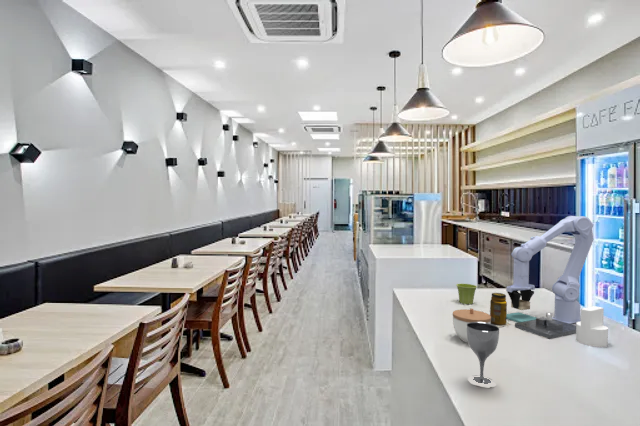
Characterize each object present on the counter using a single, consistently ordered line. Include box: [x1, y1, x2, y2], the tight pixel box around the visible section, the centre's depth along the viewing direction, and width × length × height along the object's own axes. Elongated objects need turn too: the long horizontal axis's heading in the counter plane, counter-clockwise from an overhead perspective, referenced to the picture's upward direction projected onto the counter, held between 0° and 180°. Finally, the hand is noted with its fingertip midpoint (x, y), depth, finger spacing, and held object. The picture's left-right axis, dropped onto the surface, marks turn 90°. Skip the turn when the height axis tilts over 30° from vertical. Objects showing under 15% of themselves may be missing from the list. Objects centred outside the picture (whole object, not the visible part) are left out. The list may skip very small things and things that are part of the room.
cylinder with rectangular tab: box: [575, 305, 609, 348], centre depth 130 cm, size 9×9×12 cm
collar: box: [510, 298, 531, 311], centre depth 157 cm, size 5×5×3 cm
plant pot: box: [455, 283, 478, 305], centre depth 182 cm, size 9×9×9 cm
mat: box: [506, 311, 537, 323], centre depth 157 cm, size 11×10×1 cm
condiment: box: [489, 292, 511, 328], centre depth 150 cm, size 7×8×12 cm
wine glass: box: [467, 322, 500, 384], centre depth 99 cm, size 8×8×15 cm
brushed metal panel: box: [514, 312, 576, 340], centre depth 143 cm, size 20×14×6 cm
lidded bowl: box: [452, 308, 491, 343], centre depth 131 cm, size 13×13×11 cm
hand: (520, 307), depth 157 cm, fingers closed on collar, 5 cm apart
